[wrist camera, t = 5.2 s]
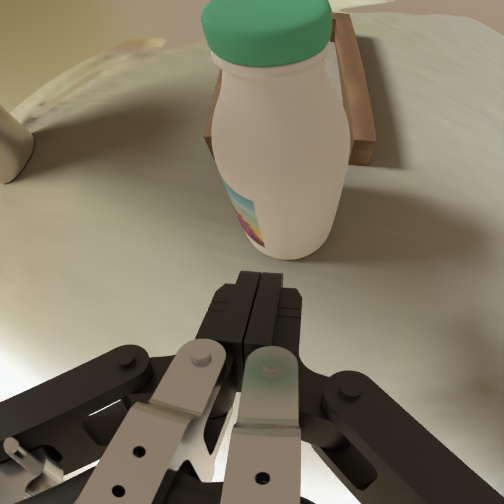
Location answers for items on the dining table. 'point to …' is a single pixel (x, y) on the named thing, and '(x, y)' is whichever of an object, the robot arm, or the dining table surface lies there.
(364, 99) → the walnut U-rest
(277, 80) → the milk bottle
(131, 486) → the robot arm
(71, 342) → the dining table surface
